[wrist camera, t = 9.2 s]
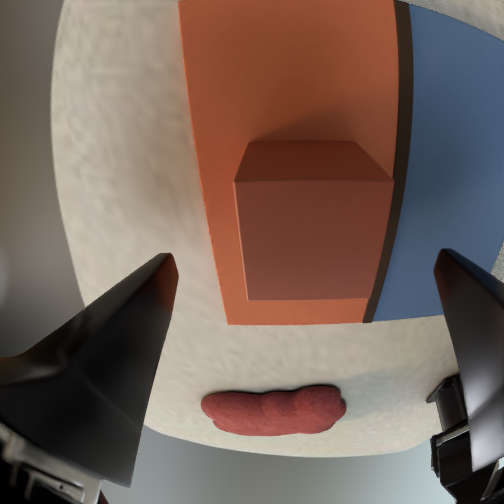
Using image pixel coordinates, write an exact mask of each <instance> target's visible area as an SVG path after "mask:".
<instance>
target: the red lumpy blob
mask: <svg viewBox="0 0 504 504" xmlns="http://www.w3.org/2000/svg"><path fill="white" fill-rule="evenodd" d="M201 408H202V410H203V412H204V413H205V414H206V415H207V416H208V417H210V418H211V419H213V423H214V425H215V426H216V427H217V428H219V429H220V430H223V431H226V432H230V433H234V434H239V435H245V436H280V435H286V434H295V433H304V434H314V433H320V432H323V431H326V430H328V429H330V428H331V427H332V426H333V425H334V424H335V422H336V421H337V420H339V419H340V418H341V417H342V416H343V415H344V414H345V412H346V409H347V407H346V405H345V403H344V402H342V401H341V395H340V392H339V391H338V390H336V389H335V388H331V387H326V386H315V387H308V388H303V389H301V390H298V391H295V392H291V393H289V392H271V393H267V394H265V395H253V394H246V393H234V392H231V393H216V394H212V395H209V396H207V397H205V398H204V399H203V400H202V402H201Z"/></svg>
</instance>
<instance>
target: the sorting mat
mask: <svg viewBox="0 0 504 504" xmlns="http://www.w3.org/2000/svg"><path fill="white" fill-rule="evenodd" d="M178 7H179V19H180V30H181V40H182V49H183V59H184V67H185V76H186V84H187V92H188V100H189V107H190V115H191V122H192V129H193V136H194V143H195V149H196V156H197V162H198V169H199V175H200V181H201V187H202V193H203V199H204V205H205V211H206V216H207V222H208V227H209V233H210V238H211V244H212V249H213V254H214V260H215V265H216V270H217V275H218V280H219V285H220V290H221V295H222V299H223V304H224V309H225V314H226V318H227V323H228V325H313V324H339V323H358V322H362V323H371V322H373V321H386V320H398V319H408V318H418V317H427V316H435V315H443V314H444V313H443V309H442V305H441V301H440V297H439V293H438V289H437V285H436V281H435V277H434V273H433V269H434V265H435V262H436V259H437V256H438V253H439V251H440V250H441V249H442V248H451V249H453V250H455V251H456V252H458V253H460V254H461V255H463V256H464V257H466V258H467V259H469V260H470V261H472V262H474V263H475V264H477V265H478V266H480V267H481V268H483V269H484V270H485V271H487V272H488V273H490V272H491V270H492V268H493V266H494V263H495V261H496V259H497V256H498V254H499V251H500V249H501V246H502V244H503V241H504V41H502V40H500V39H498V38H496V37H494V36H492V35H490V34H488V33H486V32H484V31H482V30H480V29H478V28H476V27H473V26H471V25H469V24H466V23H464V22H462V21H459V20H457V19H454V18H452V17H449V16H446V15H444V14H441V13H438V12H435V11H432V10H429V9H426V8H422V7H419V6H415V5H412V4H409V3H406V2H402V1H398V0H181V1H178ZM285 140H327V141H355V142H356V143H357V144H358V145H360V146H361V147H362V148H363V149H364V150H365V151H366V152H367V153H368V154H369V155H370V156H371V157H372V158H373V159H374V160H375V161H376V162H377V163H378V164H379V165H380V166H381V167H382V168H383V169H384V170H385V171H386V172H387V173H388V174H389V176H390V177H391V178H392V179H393V180H394V188H393V195H392V201H391V208H390V213H389V219H388V225H387V230H386V235H385V240H384V245H383V249H382V254H381V258H380V263H379V267H378V271H377V275H376V279H375V283H374V287H373V291H372V295H371V297H370V298H362V299H338V300H302V301H248V300H247V296H246V288H245V280H244V272H243V264H242V256H241V248H240V240H239V231H238V223H237V214H236V206H235V197H234V189H233V180H234V177H235V175H236V172H237V170H238V167H239V165H240V162H241V159H242V157H243V154H244V152H245V149H246V147H247V144H248V142H257V141H285Z"/></svg>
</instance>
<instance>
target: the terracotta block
mask: <svg viewBox="0 0 504 504" xmlns="http://www.w3.org/2000/svg"><path fill="white" fill-rule="evenodd" d="M393 188H394V180H393V179H392V178H391V177H390V176H389V174H388V173H387V172H386V171H385V170H384V169H383V168H382V167H381V166H380V165H379V164H378V163H377V162H376V161H375V160H374V159H373V158H372V157H371V156H370V155H369V154H368V153H367V152H366V151H365V150H364V149H363V148H362V147H361V146H360V145H358V144H357V143H356V142H355V141H327V140H285V141H257V142H248V144H247V147H246V149H245V152H244V154H243V157H242V159H241V162H240V165H239V167H238V170H237V172H236V175H235V177H234V180H233V189H234V197H235V206H236V214H237V223H238V231H239V240H240V248H241V256H242V264H243V272H244V280H245V288H246V296H247V300H248V301H302V300H338V299H362V298H370V297H371V295H372V291H373V287H374V283H375V279H376V275H377V271H378V267H379V263H380V258H381V254H382V249H383V245H384V240H385V235H386V230H387V225H388V219H389V213H390V208H391V201H392V195H393Z"/></svg>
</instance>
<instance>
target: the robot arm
mask: <svg viewBox="0 0 504 504" xmlns="http://www.w3.org/2000/svg"><path fill="white" fill-rule="evenodd" d="M433 273H434V277H435V281H436V285H437V289H438V293H439V297H440V301H441V305H442V309H443V313H444V316H445V319H446V322H447V326H448V329H449V332H450V336H451V339H452V343H453V347H454V351H455V354H456V358H457V363H458V367H459V371H460V375H456V376H452V377H448V378H446V379H444V380H443V381H442V383H441V384H440V385H439V386H438V387H437V388H436V390H435V391H434V392H433V393H432V394H431V395H430V396H429V397H428V398H427V400H426V403H431V402H435V401H436V405H437V409H438V413H439V417H440V422H441V427H442V431H443V432H442V433H439V434H437V435H433V436H432V438H431V439H430V443H431V451H432V455H431V456H432V457H431V470H433V471H435V474H436V476H437V478H440V483H441V485H442V486H444V488H445V489H446V490H447V491H448V492H449V493H450V494H451V495H452V496H453V497H454V499H455V504H504V467H502V468H501V469H499V470H498V468H499V459H500V458H502V457H504V283H503V282H501V281H500V280H498V279H497V278H496V277H494V276H493V275H491V274H490V273H488V272H487V271H485V270H484V269H483V268H481V267H480V266H478V265H477V264H475V263H474V262H472V261H470V260H469V259H467V258H466V257H464V256H463V255H461V254H460V253H458V252H456V251H455V250H453V249H451V248H442V249H441V250H440V251H439V253H438V256H437V259H436V262H435V265H434V269H433ZM178 278H179V275H178V270H177V267H176V264H175V260H174V257H173V255H172V254H171V253H159V254H158V255H156V256H155V257H154V258H152V259H151V260H149V261H148V262H147V263H145V264H144V265H142V266H141V267H140V268H138V269H137V270H135V271H134V272H133V273H131V274H130V275H129V276H127V277H126V278H124V279H123V280H122V281H120V282H119V283H118V284H116V285H115V286H114V287H112V288H111V289H110V290H108V291H107V292H106V293H104V294H103V295H102V296H100V297H99V298H98V299H96V300H95V301H94V302H92V303H91V304H90V305H88V306H87V307H86V308H85V309H84V310H82V311H81V312H79V313H78V314H77V315H76V316H74V317H73V318H72V319H70V320H69V321H68V322H66V323H65V324H64V325H62V326H61V327H59V328H58V329H57V330H55V331H54V332H52V333H51V334H50V335H48V336H47V337H45V338H44V339H43V340H41V341H40V342H39V343H37V344H35V345H34V346H33V347H31V348H30V349H28V350H27V351H26V352H24V353H22V354H20V355H17V356H13V357H0V504H109V503H108V502H107V500H106V498H105V497H104V495H103V493H102V491H101V489H100V488H101V484H102V480H103V479H105V480H108V481H110V482H113V483H115V484H118V485H121V486H124V487H127V488H130V486H131V481H132V476H133V470H134V465H135V460H136V455H137V450H138V446H139V441H140V436H141V431H142V427H143V423H144V418H145V414H146V410H147V406H148V401H149V397H150V393H151V389H152V386H153V382H154V378H155V374H156V370H157V367H158V363H159V359H160V356H161V352H162V348H163V345H164V341H165V338H166V334H167V331H168V328H169V324H170V320H171V316H172V311H173V306H174V300H175V295H176V289H177V284H178ZM468 429H469V430H468ZM466 430H468V431H466ZM464 431H466V432H464ZM462 432H464V433H462ZM460 433H462V434H460ZM458 434H460V435H458ZM456 435H458V436H456ZM454 436H456V437H454ZM452 437H454V438H452ZM450 438H452V439H450ZM448 439H449V440H448ZM445 440H447V441H445ZM443 441H445V442H443Z"/></svg>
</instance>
